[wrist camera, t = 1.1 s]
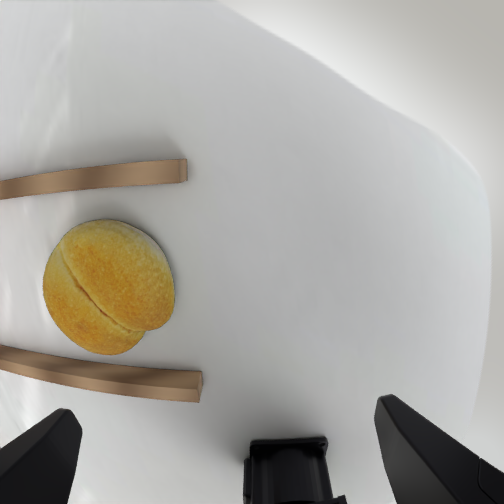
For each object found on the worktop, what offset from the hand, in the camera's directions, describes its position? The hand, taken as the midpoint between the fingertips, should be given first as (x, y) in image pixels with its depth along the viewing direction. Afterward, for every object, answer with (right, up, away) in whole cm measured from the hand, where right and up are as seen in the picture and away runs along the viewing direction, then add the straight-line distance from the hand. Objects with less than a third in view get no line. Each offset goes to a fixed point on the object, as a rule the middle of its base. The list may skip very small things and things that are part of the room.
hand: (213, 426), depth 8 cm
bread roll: (-8, +3, +12) cm, 15 cm away
